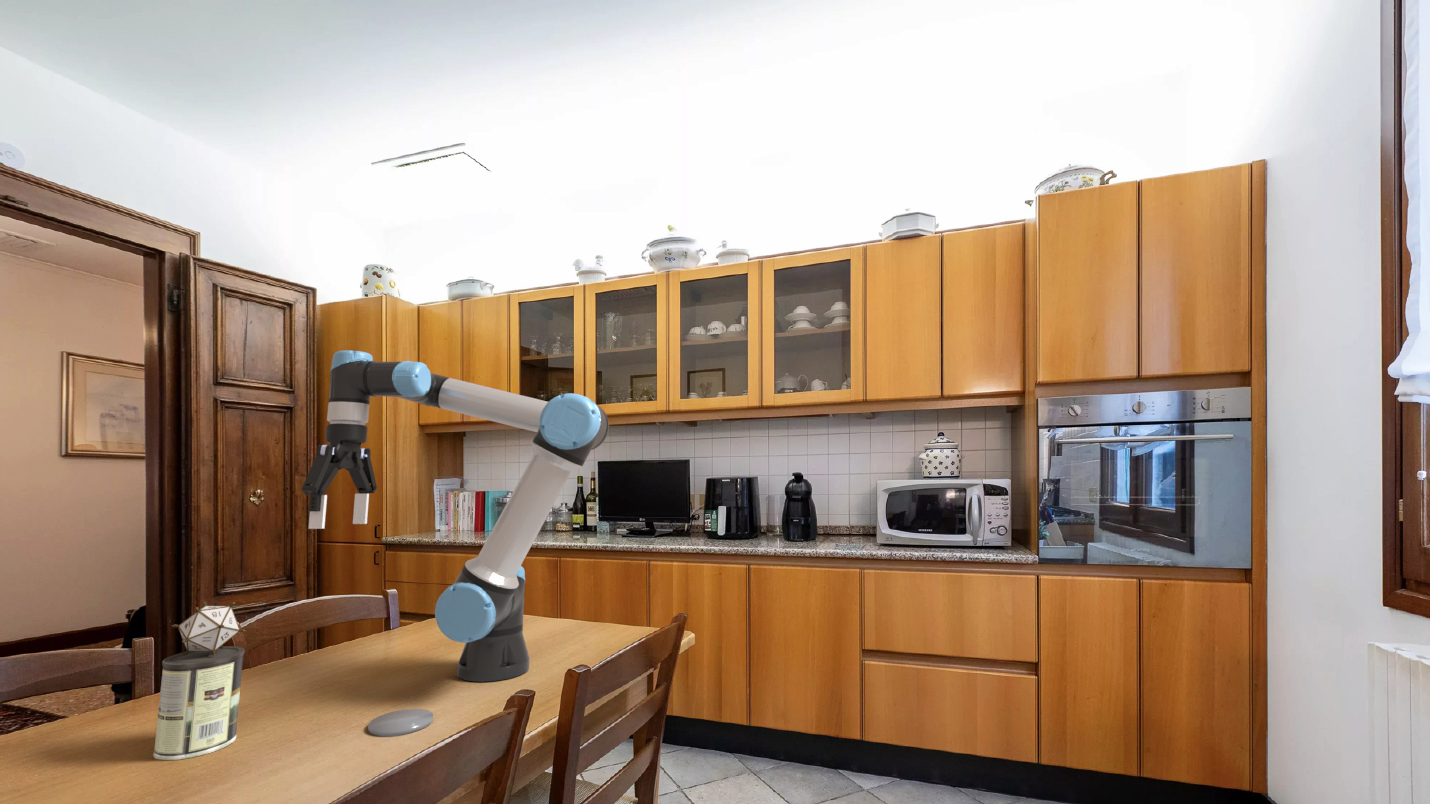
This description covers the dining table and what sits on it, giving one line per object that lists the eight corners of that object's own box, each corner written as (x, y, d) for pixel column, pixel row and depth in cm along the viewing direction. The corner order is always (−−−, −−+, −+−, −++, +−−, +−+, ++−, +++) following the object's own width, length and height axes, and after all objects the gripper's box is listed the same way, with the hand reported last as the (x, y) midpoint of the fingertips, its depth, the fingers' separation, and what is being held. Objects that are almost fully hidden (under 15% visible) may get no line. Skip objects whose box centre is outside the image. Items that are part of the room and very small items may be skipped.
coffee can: (196, 732, 103) (205, 644, 104) (252, 734, 102) (260, 646, 103) (132, 759, 92) (144, 662, 94) (194, 762, 91) (204, 664, 93)
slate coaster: (443, 714, 110) (443, 709, 110) (413, 737, 100) (414, 731, 101) (389, 713, 111) (390, 708, 111) (355, 735, 101) (355, 730, 101)
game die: (199, 681, 97) (170, 639, 92) (181, 654, 101) (153, 612, 96) (262, 643, 103) (238, 601, 98) (243, 619, 107) (219, 578, 103)
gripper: (366, 429, 141) (359, 522, 138) (286, 418, 116) (275, 530, 114) (397, 429, 141) (391, 522, 138) (324, 417, 116) (314, 531, 113)
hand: (339, 526), depth 126 cm, fingers open, 13 cm apart
